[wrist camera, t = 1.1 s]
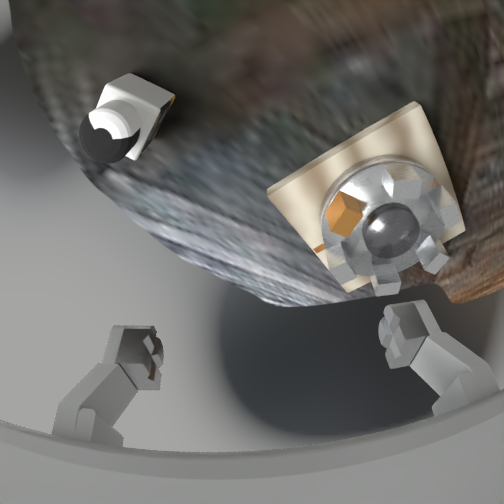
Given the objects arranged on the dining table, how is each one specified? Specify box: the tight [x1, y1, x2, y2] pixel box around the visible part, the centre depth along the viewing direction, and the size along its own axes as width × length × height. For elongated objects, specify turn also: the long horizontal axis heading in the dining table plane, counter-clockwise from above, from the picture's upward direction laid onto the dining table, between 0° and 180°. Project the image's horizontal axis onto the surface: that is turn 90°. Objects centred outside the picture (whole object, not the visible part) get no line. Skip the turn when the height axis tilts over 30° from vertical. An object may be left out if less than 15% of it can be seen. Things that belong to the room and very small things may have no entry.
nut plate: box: [267, 101, 465, 293], centre depth 44 cm, size 24×24×2 cm
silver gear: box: [319, 155, 461, 296], centre depth 40 cm, size 19×19×7 cm
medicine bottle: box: [79, 73, 175, 164], centre depth 31 cm, size 7×7×12 cm
